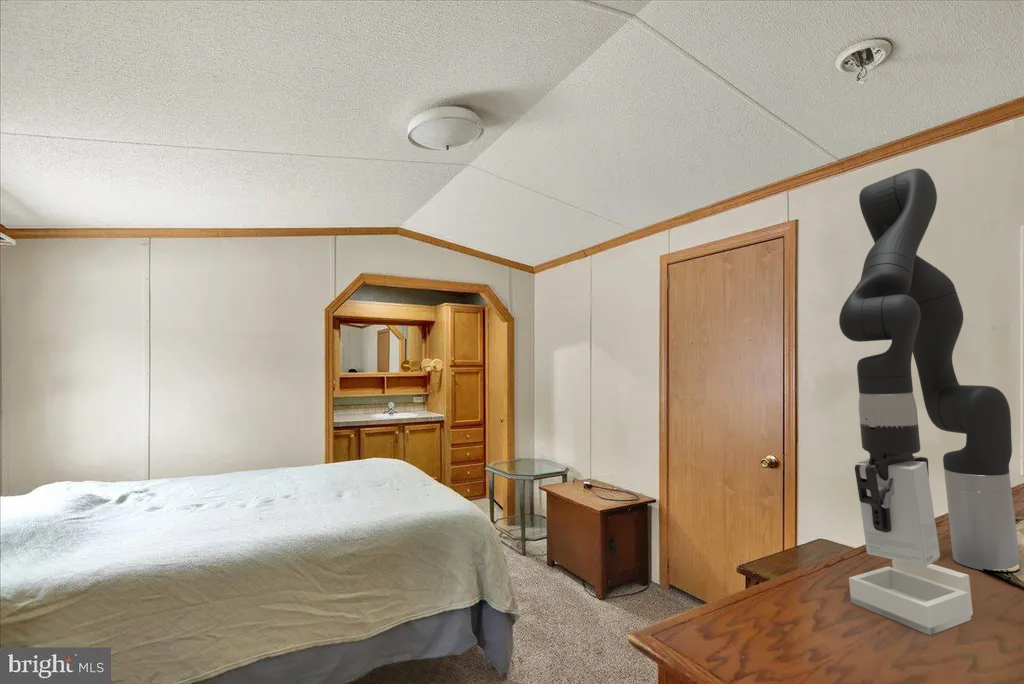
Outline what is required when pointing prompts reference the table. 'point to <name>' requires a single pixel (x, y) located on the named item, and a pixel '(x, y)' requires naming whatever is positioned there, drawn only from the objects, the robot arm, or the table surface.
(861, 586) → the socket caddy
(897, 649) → the table surface
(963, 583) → the wall
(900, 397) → the robot arm
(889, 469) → the skincare box
